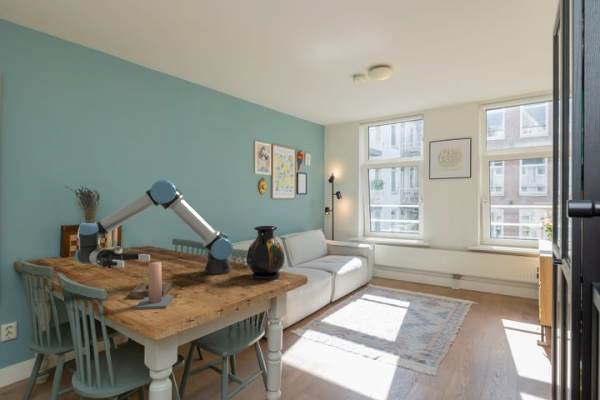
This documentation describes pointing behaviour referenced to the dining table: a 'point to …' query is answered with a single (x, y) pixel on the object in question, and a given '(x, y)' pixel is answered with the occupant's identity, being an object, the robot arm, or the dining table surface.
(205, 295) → the dining table surface
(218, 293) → the dining table surface
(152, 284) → the terracotta peg
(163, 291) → the walnut pocket block
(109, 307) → the dining table surface
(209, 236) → the robot arm
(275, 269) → the amphora vase
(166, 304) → the slate mat
